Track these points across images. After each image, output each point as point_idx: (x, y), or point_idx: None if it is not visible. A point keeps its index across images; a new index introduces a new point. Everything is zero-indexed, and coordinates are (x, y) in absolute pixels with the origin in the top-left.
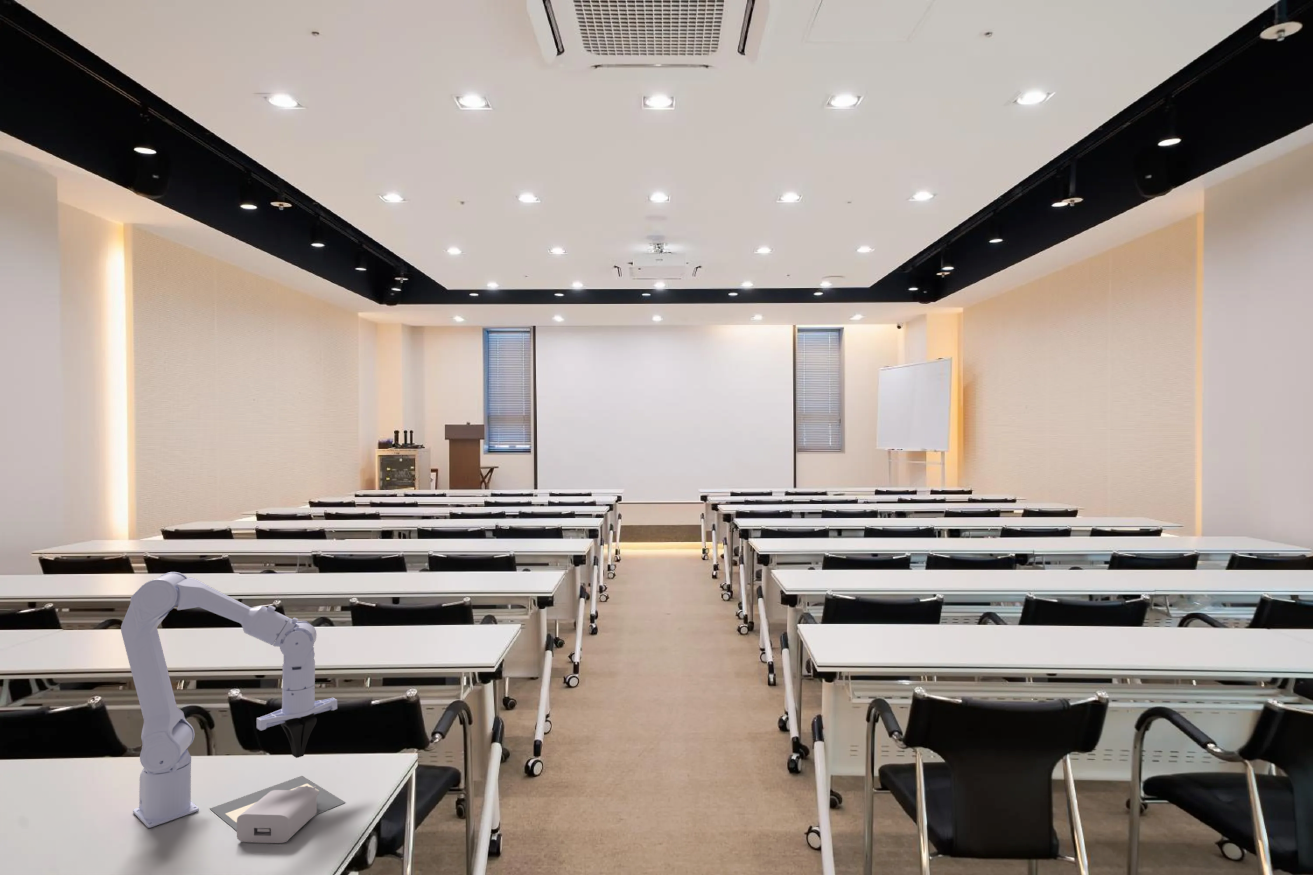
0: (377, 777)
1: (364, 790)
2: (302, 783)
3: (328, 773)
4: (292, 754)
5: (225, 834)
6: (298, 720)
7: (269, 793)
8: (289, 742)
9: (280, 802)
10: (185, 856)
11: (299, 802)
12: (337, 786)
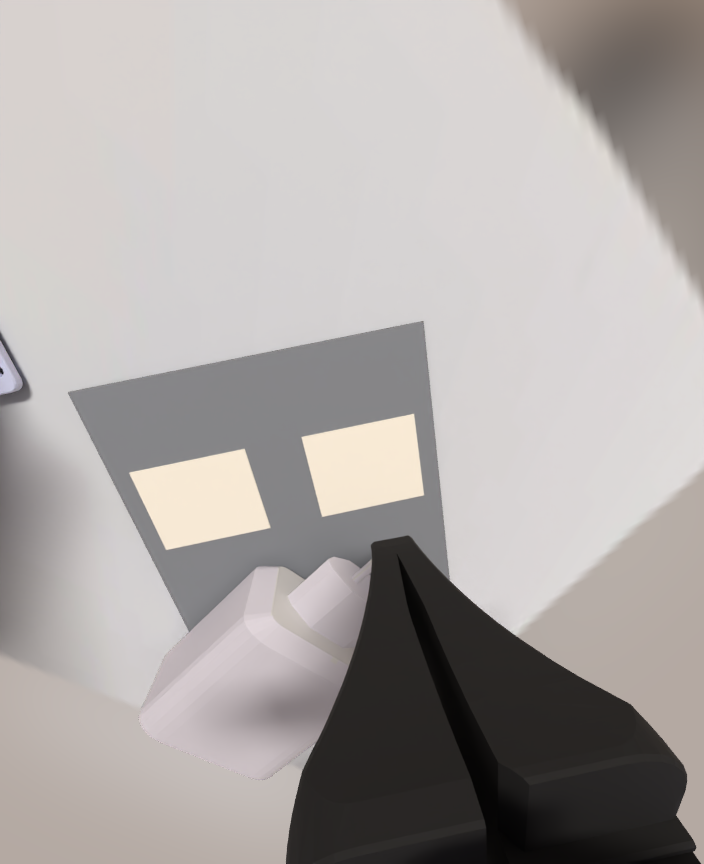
0: (589, 506)
1: (519, 561)
2: (401, 399)
3: (503, 369)
4: (371, 549)
5: (140, 591)
6: (498, 853)
7: (241, 651)
8: (367, 597)
9: (264, 723)
10: (46, 641)
11: (315, 738)
12: (478, 493)
